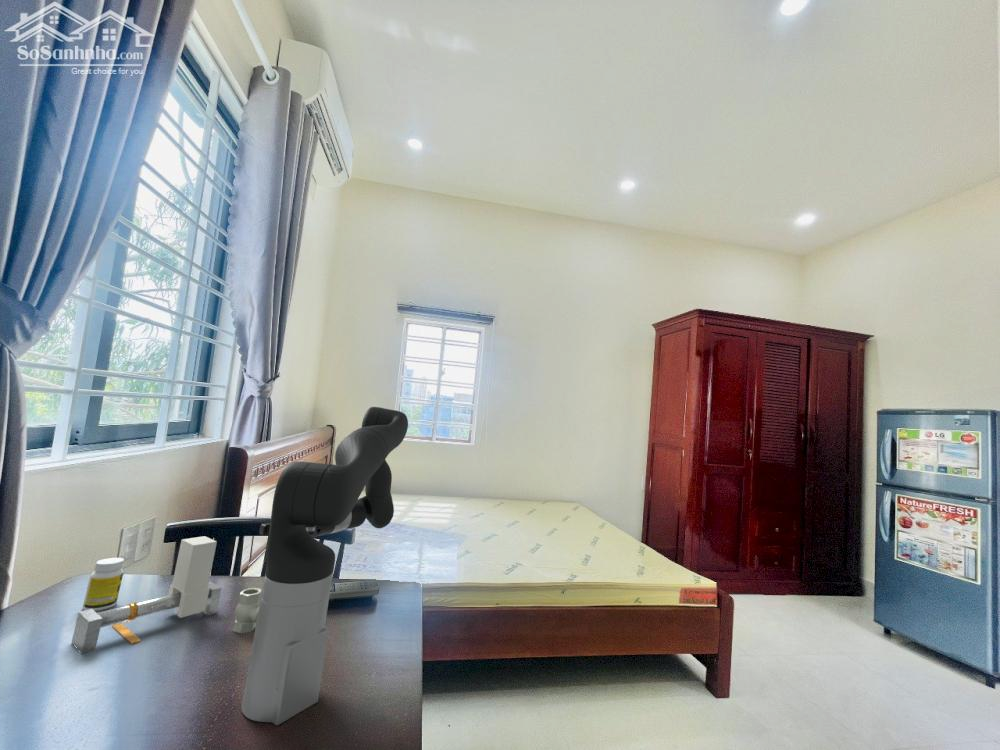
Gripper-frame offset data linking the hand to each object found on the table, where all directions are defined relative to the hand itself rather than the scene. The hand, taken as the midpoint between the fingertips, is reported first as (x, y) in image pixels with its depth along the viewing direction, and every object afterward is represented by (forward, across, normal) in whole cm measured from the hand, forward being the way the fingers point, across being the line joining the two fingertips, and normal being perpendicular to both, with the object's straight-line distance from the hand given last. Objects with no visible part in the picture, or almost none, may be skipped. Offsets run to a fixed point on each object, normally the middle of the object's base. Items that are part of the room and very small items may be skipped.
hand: (261, 529), depth 88 cm
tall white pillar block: (+12, 0, +13) cm, 18 cm away
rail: (+17, 0, +14) cm, 22 cm away
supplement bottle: (+20, -15, +14) cm, 29 cm away
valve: (+7, +16, +14) cm, 23 cm away
